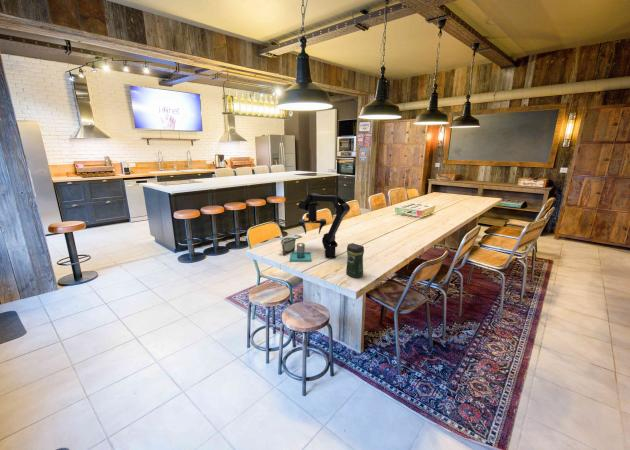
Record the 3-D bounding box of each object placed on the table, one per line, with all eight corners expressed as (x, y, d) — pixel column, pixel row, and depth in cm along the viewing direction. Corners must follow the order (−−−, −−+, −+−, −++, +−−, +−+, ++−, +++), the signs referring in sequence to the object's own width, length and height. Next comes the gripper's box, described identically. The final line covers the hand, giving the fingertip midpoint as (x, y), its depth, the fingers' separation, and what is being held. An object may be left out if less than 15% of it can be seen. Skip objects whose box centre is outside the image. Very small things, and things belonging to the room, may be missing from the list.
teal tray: (311, 254, 203) (311, 251, 202) (311, 261, 189) (311, 259, 189) (290, 254, 203) (290, 252, 202) (289, 261, 189) (289, 259, 189)
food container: (289, 249, 212) (289, 236, 209) (296, 251, 208) (295, 237, 206) (277, 254, 203) (276, 240, 200) (283, 256, 199) (283, 242, 196)
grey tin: (306, 256, 196) (306, 244, 194) (301, 259, 192) (301, 246, 190) (300, 255, 199) (300, 242, 197) (295, 257, 195) (295, 244, 193)
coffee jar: (365, 275, 169) (366, 245, 165) (356, 279, 164) (357, 248, 160) (352, 270, 176) (353, 240, 172) (343, 274, 171) (344, 243, 167)
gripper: (325, 209, 208) (325, 230, 212) (299, 209, 208) (299, 230, 212) (326, 212, 197) (326, 235, 201) (298, 213, 197) (298, 235, 201)
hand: (312, 233), depth 204 cm, fingers open, 9 cm apart
